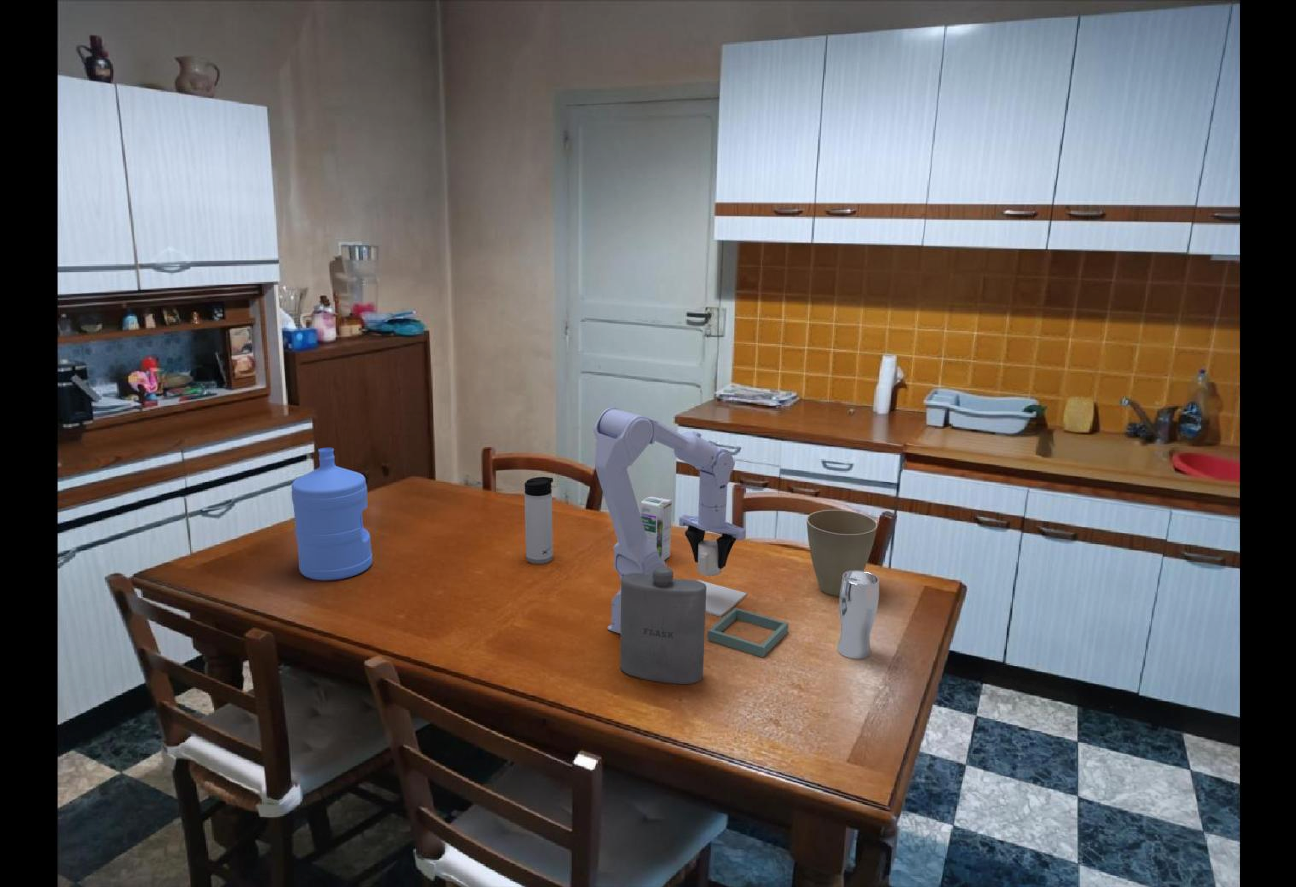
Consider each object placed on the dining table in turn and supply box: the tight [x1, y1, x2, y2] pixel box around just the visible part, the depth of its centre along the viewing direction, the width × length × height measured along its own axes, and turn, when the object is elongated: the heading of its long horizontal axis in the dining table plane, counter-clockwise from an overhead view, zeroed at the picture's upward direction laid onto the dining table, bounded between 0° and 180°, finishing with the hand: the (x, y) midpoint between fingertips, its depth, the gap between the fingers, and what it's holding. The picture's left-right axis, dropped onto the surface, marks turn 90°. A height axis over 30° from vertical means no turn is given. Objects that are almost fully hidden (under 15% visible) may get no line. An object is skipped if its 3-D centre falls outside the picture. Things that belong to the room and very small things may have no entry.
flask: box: [619, 566, 706, 685], centre depth 139 cm, size 15×6×20 cm, turn 76°
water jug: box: [291, 447, 373, 581], centre depth 179 cm, size 16×16×28 cm
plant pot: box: [806, 509, 879, 597], centre depth 174 cm, size 15×15×16 cm
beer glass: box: [837, 570, 880, 660], centre depth 148 cm, size 7×7×15 cm
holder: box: [707, 607, 789, 658], centre depth 155 cm, size 12×12×2 cm
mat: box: [697, 579, 747, 618], centre depth 170 cm, size 12×12×1 cm
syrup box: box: [639, 496, 673, 561], centre depth 189 cm, size 6×6×14 cm
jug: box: [697, 539, 722, 577], centre depth 167 cm, size 7×5×6 cm
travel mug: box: [524, 476, 554, 565], centre depth 186 cm, size 6×7×20 cm
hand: (710, 564), depth 168 cm, fingers closed on jug, 5 cm apart
